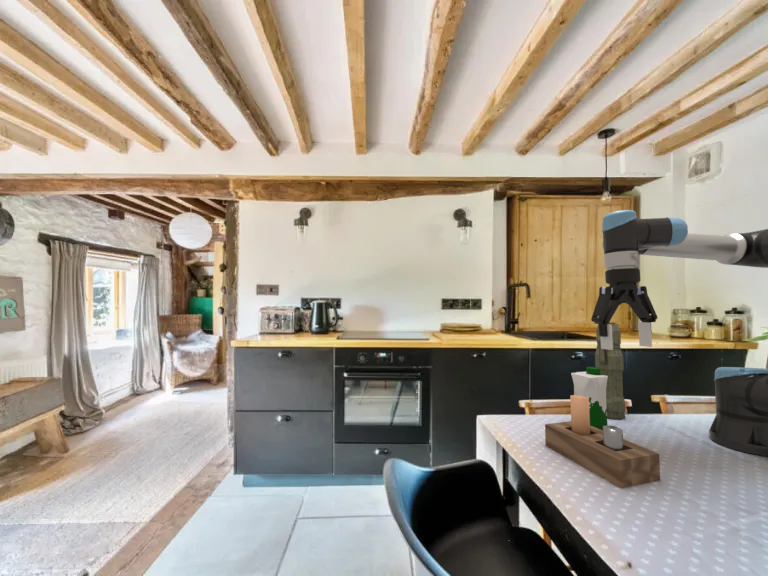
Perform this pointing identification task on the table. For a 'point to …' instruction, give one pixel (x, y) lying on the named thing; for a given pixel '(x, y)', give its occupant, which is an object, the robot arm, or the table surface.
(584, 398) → the peg
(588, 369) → the milk carton
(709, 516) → the table surface
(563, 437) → the hole block
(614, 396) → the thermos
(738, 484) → the table surface
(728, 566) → the table surface
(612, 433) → the steel pin
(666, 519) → the table surface
